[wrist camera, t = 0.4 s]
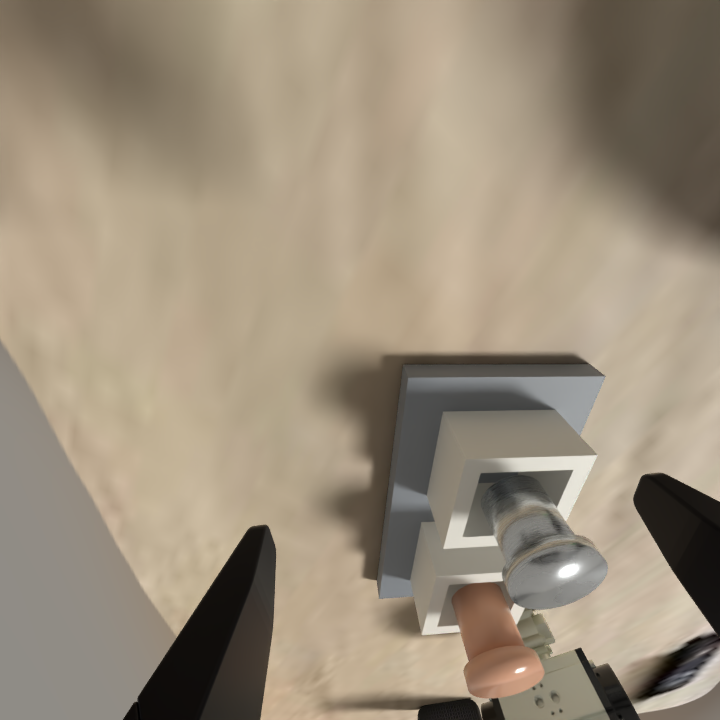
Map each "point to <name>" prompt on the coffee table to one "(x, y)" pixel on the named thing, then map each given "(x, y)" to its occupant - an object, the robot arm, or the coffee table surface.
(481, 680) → the plug terracotta
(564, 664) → the pneumatic valve
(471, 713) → the phone
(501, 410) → the board
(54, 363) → the coffee table surface
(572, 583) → the plug metal
